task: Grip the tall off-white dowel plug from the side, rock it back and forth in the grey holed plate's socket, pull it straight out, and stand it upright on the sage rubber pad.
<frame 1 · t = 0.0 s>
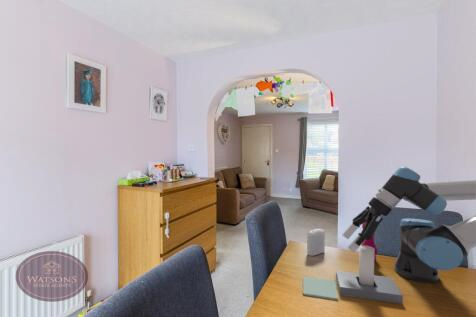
hand: (347, 243, 98), 15 cm above the table, tool tilted 35°, fingers open, 13 cm apart
grey holed plate: (366, 289, 92), on the table
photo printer: (315, 253, 124), on the table
pepper mill: (368, 259, 116), on the table
plug: (366, 268, 92), in the grey holed plate
pad: (319, 288, 93), on the table
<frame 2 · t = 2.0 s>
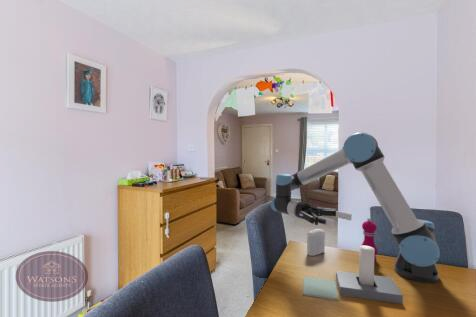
hand: (343, 220, 98), 24 cm above the table, tool horizontal, fingers open, 13 cm apart
nothing on the table moved.
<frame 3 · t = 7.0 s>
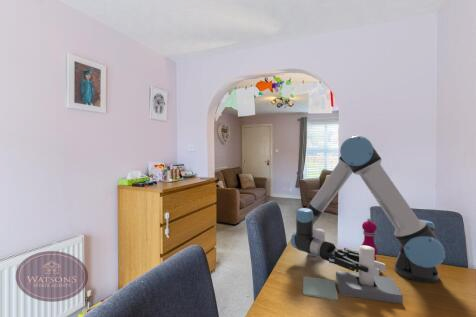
hand: (381, 270, 87), 10 cm above the table, tool horizontal, fingers closed on plug, 5 cm apart
plug: (366, 268, 92), in the grey holed plate, touching gripper
everything else where it was.
when the fingers open (11 cm above the table, at t = 15.1 s): plug drops 1 cm, resting on pad.
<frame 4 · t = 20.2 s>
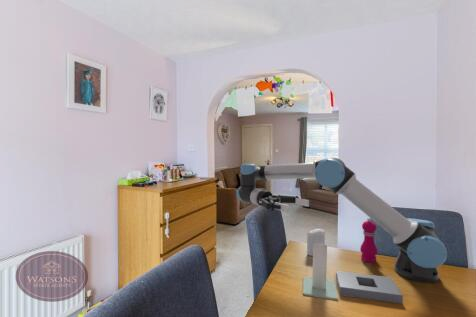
hand: (298, 205, 99), 30 cm above the table, tool horizontal, fingers open, 13 cm apart
plug: (319, 266, 93), on the pad, point 9 cm above the table
everything else where it was.
at the end: plug inside the target area on the pad (0.1 cm from its centre), point 8.6 cm above the pad's base; plug tilted 1°; the gripper is holding nothing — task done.
